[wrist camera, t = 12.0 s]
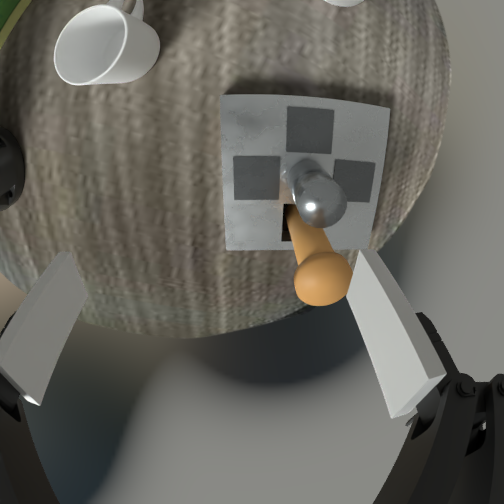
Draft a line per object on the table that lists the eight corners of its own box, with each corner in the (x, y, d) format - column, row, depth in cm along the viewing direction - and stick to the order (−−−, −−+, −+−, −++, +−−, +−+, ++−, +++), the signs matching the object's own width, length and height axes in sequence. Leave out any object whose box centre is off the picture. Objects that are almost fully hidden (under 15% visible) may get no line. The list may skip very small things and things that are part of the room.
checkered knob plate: (227, 239, 40) (222, 289, 30) (222, 94, 29) (210, 95, 20) (360, 238, 40) (388, 284, 31) (379, 106, 29) (426, 117, 20)
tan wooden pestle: (278, 231, 39) (292, 306, 26) (280, 194, 36) (298, 259, 23) (316, 231, 39) (346, 304, 26) (320, 194, 36) (359, 258, 23)
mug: (182, 5, 22) (156, -24, 13) (149, 88, 28) (110, 90, 19) (123, 0, 20) (82, -22, 11) (94, 79, 26) (45, 82, 17)
